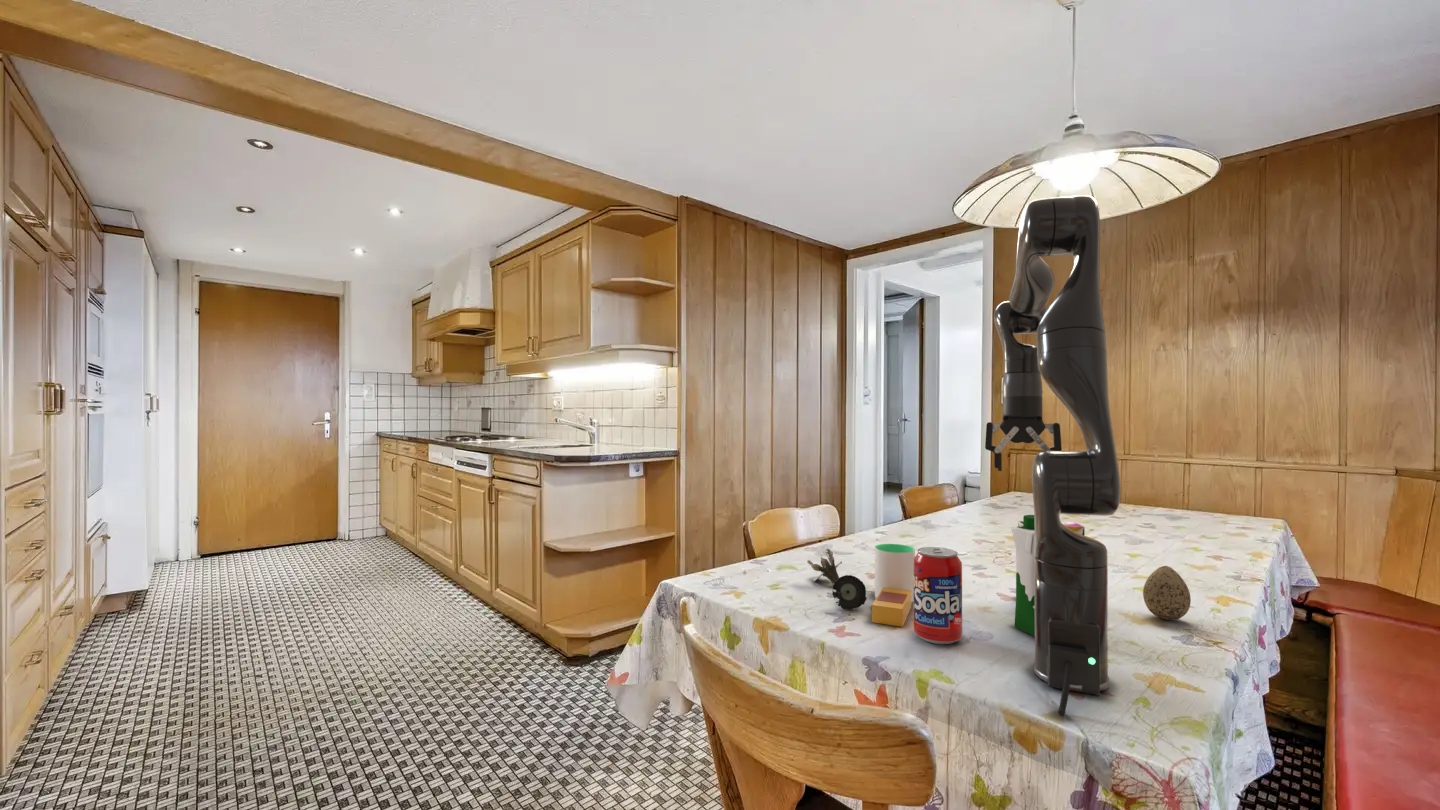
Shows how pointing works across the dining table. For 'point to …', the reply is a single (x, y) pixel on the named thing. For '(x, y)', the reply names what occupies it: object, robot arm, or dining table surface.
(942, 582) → the soda can
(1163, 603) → the decorative egg
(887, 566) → the mug
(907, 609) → the tea packet
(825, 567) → the dark long pronged piece
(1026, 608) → the milk carton
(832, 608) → the dining table surface
